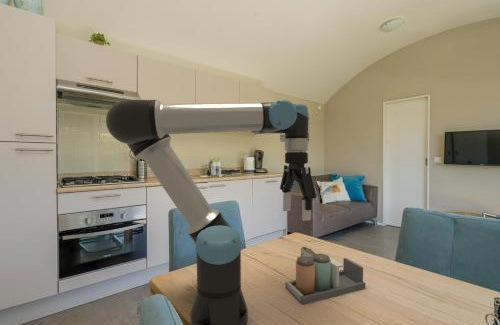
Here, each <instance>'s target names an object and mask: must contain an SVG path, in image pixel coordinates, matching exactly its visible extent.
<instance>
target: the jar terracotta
mask: <svg viewBox="0 0 500 325" xmlns="http://www.w3.org/2000/svg"><path fill="white" fill-rule="evenodd" d="M295 280H296V289H297V290H298V291H299V292H301V293H302V294H303V296H306V295H310V294H314V293H315V262H314V259H312V258H311V257H307V256H301V255H300V256H298V257H297V258H296V261H295Z"/></svg>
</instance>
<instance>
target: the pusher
mask: <svg viewBox="0 0 500 325" xmlns="http://www.w3.org/2000/svg"><path fill="white" fill-rule="evenodd" d="M330 260H331V286H332V287H333V288H338V287H339V271H340V268H343V263H340V262H338V261H337V260H335V259H333V258H331V257H330Z"/></svg>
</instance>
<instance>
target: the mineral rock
mask: <svg viewBox="0 0 500 325" xmlns="http://www.w3.org/2000/svg"><path fill="white" fill-rule="evenodd" d="M314 254H316V252H314V250H312V249H311V248H309V247H307V246H306V247H305V246H302V247H301V248H300V257H301V256H307V257H311V258H312V257H313V255H314Z"/></svg>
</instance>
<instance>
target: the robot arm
mask: <svg viewBox="0 0 500 325" xmlns="http://www.w3.org/2000/svg"><path fill="white" fill-rule="evenodd" d="M309 119H310V118H309V107H308V106H307V105H306V104H304V103H293V102H292V101H290V100H288V99H282V98H281V99H278V100H275V101H273V102H271V101H270V102H267V101H266V102H216V103H214V102H209V103H206V102H205V103H204V102H203V103H199V102H198V103H163V102H162V101H160V100H159V99H133V98H132V99H129V98H128V99H123V100H119V101H118V102H116V103H114V104H113V105H112V106H111V107H110V108H109V109H108V111H107V113H106V117H105V125H106V127H107V130H108V132H109V134H110V135H111V137H113V138H114V139H115V140H117V141H118V142H120V143H123V144H126V145H127V146H128V148H129V149H130V151H131V152H132V153H133V155H134V156H135V158H136V159H140V160H143V161H145V163H146V165H147V166H148V167H149V169H150V170H151V172H152V173H153V175H154V177H155V178H156V179H157V180H158V182H159V183H160V185H161V186H162V188H163V190H164V191H165V192H166V194H167V195H168V197H169V198H170V199H171V201H172V203H173V204H174V205H175V207H176V209H177V210H178V211H179V213H180V215H181V216H182V217H183V219H184V220H185V222H186V223H187V225H188V228H187V234H188V235H189V237H190V238H191V240H192V241H193V243H194V244H195V251H196V294H195V298H194V300H193V304H192V307H191V311H190V325H246V324H247V321H248V318H249V317H248V315H249V314H248V311H249V310H248V305H247V302H246V299H245V296H244V293H243V290H242V271H241V270H242V265H241V264H242V259H241V258H242V257H241V256H242V255H241V254H242V252H241V251H242V240H241V235H240V233H239V231H238V230H237V229H235V228H234V227H232V226H231V224H230V223H229V222H228V221H227V220H226V219H225V218H224V216H223V215H222V213H221V212H220V211H219V210H220V209H219V210H218V209H214V208H212V207H211V205H210V204H209V202H208V201H207V199H206V198H205V196H204V194H203V193H202V192H201V190H200V188H199V187H198V186H197V184H196V182H195V181H194V179H193V178H192V177H191V175H190V173H189V172H188V170H187V169H186V168H185V166H184V165H183V162H182V161H181V160H180V159H179V157H178V155H177V154H176V152H175V151H174V149H173V147H171V140H172V137H171V136H170V135H181V134H183V135H184V134H204V133H205V134H207V133H228V132H229V133H231V132H250V133H252V134H259V135H261V134H269V135H270V134H280V135H281V134H283V135H284V150H285V151H286V152H285V153H284V163H285V164H287V165H283V173H282V178H281V181H280V187H279V189H280V191H282V211H283V212H288V211H291V210H292V209H291V208H292V205H291V204H292V201H291V200H292V198H291V197H292V191H291V189H292V187H293V184H294V182H295V181H296V182H297V184H298V186H299V188H300V191H301V194H302V198H301V201H302V203H301V204H302V205H301V211H302V212H301V216H302V217H301V220H302V221H303V222H304V221H311V220H312V200H313V199H316V198H317V194H316V191H315V185H314V182H313V178H312V175H311V174H312V173H311V170H312V169H311V167H310V166H305V164H308V163H309V153H308V152H306V151H309V148H308V146H309V136H308V135H309Z"/></svg>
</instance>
